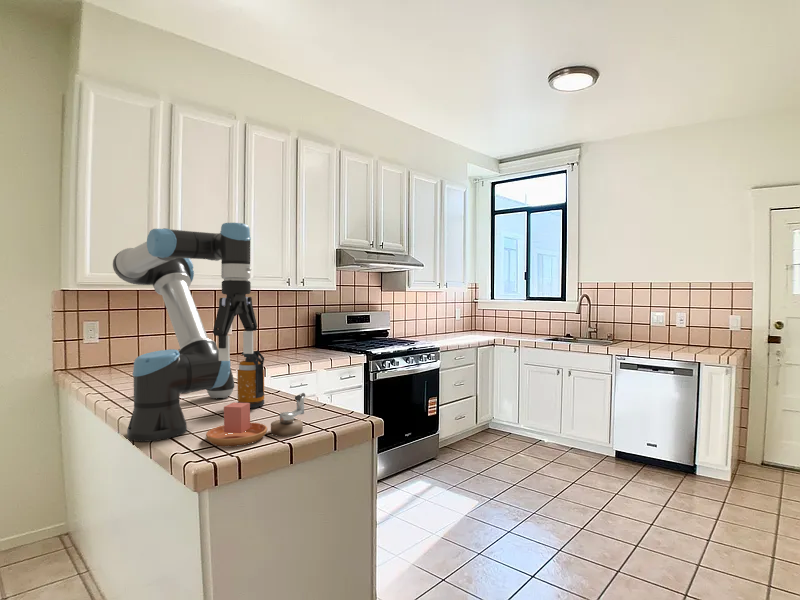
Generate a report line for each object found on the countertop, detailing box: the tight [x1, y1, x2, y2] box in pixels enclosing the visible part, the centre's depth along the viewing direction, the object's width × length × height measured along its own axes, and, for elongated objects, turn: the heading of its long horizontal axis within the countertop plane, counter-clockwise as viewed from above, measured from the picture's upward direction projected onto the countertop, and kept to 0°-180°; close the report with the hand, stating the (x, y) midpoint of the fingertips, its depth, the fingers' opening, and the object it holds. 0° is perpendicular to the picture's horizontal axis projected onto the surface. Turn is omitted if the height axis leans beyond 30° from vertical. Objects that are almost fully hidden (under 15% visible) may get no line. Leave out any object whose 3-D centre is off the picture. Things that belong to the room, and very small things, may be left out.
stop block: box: [223, 401, 251, 433], centre depth 131 cm, size 5×5×7 cm
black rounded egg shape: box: [206, 367, 235, 400], centre depth 181 cm, size 10×10×15 cm
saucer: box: [205, 422, 268, 447], centre depth 131 cm, size 16×16×3 cm
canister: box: [236, 349, 265, 409], centre depth 166 cm, size 9×11×20 cm
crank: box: [279, 392, 306, 424], centre depth 141 cm, size 12×4×6 cm, turn 163°
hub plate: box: [270, 418, 304, 437], centre depth 137 cm, size 9×9×3 cm
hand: (236, 357), depth 130 cm, fingers open, 13 cm apart
